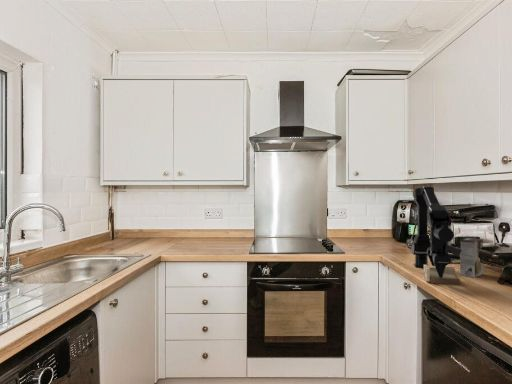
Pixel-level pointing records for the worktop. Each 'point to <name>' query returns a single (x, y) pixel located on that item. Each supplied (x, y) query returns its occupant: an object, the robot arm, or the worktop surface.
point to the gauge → (432, 272)
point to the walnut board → (445, 280)
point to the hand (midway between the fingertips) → (438, 274)
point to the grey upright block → (470, 257)
